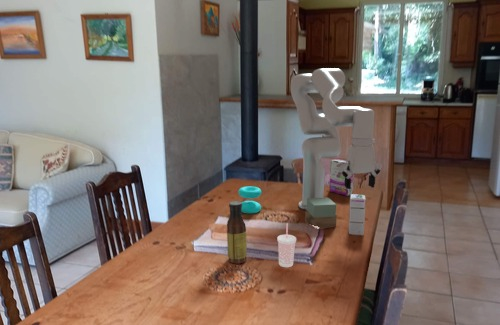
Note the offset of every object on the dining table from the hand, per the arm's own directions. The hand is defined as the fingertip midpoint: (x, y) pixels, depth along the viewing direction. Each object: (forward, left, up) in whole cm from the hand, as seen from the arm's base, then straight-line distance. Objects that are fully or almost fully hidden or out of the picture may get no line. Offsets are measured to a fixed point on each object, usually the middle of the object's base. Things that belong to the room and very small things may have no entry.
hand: (359, 187), depth 165 cm
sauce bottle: (+14, -50, -18) cm, 55 cm away
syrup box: (0, 0, -18) cm, 18 cm away
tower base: (-11, -10, -18) cm, 24 cm away
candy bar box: (-49, +17, -18) cm, 55 cm away
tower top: (-11, -10, -13) cm, 20 cm away
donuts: (-33, -34, -18) cm, 51 cm away
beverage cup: (+20, -35, -18) cm, 44 cm away
